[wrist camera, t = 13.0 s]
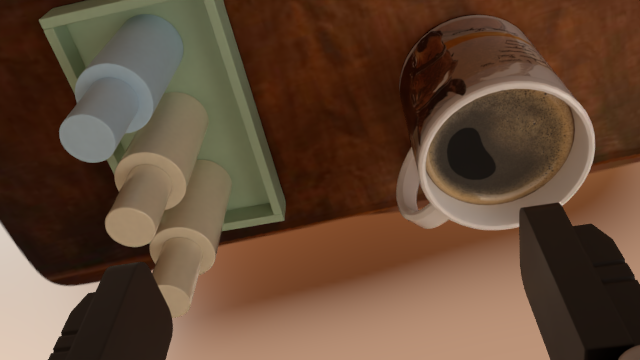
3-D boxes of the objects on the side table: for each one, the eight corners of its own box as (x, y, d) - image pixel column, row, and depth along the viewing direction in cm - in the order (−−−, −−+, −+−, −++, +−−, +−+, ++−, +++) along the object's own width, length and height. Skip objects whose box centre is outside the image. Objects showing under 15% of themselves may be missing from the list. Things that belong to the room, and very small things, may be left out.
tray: (52, 8, 40) (37, 19, 38) (214, -30, 38) (207, -20, 36) (155, 225, 50) (147, 244, 48) (286, 202, 49) (284, 220, 47)
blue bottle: (108, 21, 40) (26, 109, 29) (170, 7, 39) (110, 91, 28) (133, 80, 42) (66, 182, 31) (192, 68, 42) (144, 168, 31)
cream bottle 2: (168, 164, 46) (118, 281, 35) (222, 154, 45) (189, 269, 35) (187, 209, 48) (146, 331, 37) (239, 200, 48) (213, 321, 37)
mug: (548, 125, 44) (606, 214, 35) (394, 172, 47) (410, 266, 38) (524, -7, 39) (585, 56, 30) (351, 52, 41) (358, 129, 32)
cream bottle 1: (139, 98, 43) (76, 203, 32) (197, 86, 42) (152, 189, 31) (161, 149, 45) (109, 263, 34) (216, 138, 45) (181, 251, 34)
